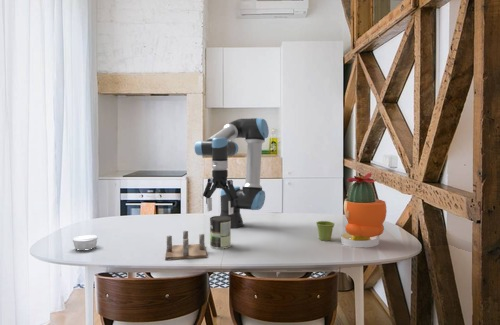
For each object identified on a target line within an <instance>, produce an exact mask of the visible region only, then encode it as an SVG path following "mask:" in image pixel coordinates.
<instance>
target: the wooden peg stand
mask: <svg viewBox="0 0 500 325" xmlns="http://www.w3.org/2000/svg"><path fill="white" fill-rule="evenodd" d="M172 237H173V236H172V235H167V236H166V250H165V256H164V257H165V258H164V259H165V261H167V260H166V259H174V260H186V259H185V258H192V259H206V258H207V252H206V251H207V250H206V247H205V246H206V245H205V243H206V242H205V234H204V233H200V234H198V238H199V242H198V243H194V244H193V243H191V244H189V231H188V230H183V231H182V244H177V245H176V244H174V245H173V238H172Z"/></svg>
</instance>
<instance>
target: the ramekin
mask: <svg viewBox="0 0 500 325" xmlns="http://www.w3.org/2000/svg"><path fill="white" fill-rule="evenodd" d="M98 239H99V238H98V235H95V234H85V235H78V236H75V237H73V238H72V242H73V247H74V249H75V250H76V249H79V250H85V249H91V248H94V247H95V248H96V247H97V243H98ZM95 248H94V249H95Z"/></svg>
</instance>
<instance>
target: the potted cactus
mask: <svg viewBox="0 0 500 325" xmlns="http://www.w3.org/2000/svg"><path fill="white" fill-rule="evenodd" d="M372 175H373V174H372V173H369V172H367V173H366V174H365V175H362V176H360V175H358V176H356V175H354V176H351V177H348V179H347V178H346V182H348V183H351V184H350V186H349V189H347V192H346V193H347V194H346V198H345V199H344V202H343V212H344V216H345V219H346V220H347V224H346V225H345V226H344V227H345V229H344V230H345V231H346V232H344V233H342V234H341V238H340V240H341V242H340V243H341V244H342V245H344V246H345V245H346V247H350V248H356V247H365V248H372V247H376V246H378V245H379V244H380V236H381V235H382V234H383V233H384V230H385V228H384V222H385V220H386V217H387V202H386V201H385V200H382V199H378V198H376V197H377V195H376V193H375V189H374V187H373V183H375V182H376V181H377V179H373V178H372V179H370V178H371V177H372ZM349 238H351V239H349Z"/></svg>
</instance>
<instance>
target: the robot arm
mask: <svg viewBox="0 0 500 325" xmlns="http://www.w3.org/2000/svg"><path fill="white" fill-rule="evenodd" d="M269 130H270V129H269V126H268V122H267V121H266V120H265V119H264V118H258V117H256V118H255V117H253V118H238V119H235V120H232V121H230V122H229V123H227V124H225V125H224V126H223V128H222V129H221V130H219V131H218V132H216V133H215V134H213V135H212V136H210V137H209V138H207V139H205V140H204V141H203V140H199V141H196V142H195V143H194V148H193V149H194V153H195V154H196V155H197V156H201V157H204V156H205V157H211V158H212V159H211V160H212V161H211V163H212V164H211V167H212V171H211V173H212V174H211V176H212V177H210V178H207V184H206V185H205V189H204V192H203V193H202V197H205V200H206V201H205V203H206V206H207V207H206V210H207V211H206V212H212V211H213V200H212V199H213V198H212V196H213V194H214V193H215V191H216V190H217V189H219V190H220V189H221V190H220V197H219V198H220V213H219V214H220V215H219V216H228V217H231V229H235V228H240V227H243V225H244V220H243V217H242V213H241V210H251V211H260V210H261V209H262V208H263V207H264V204H265V201H266V200H265V199H266V191H265V190H263V187H262V185H261V184H260V183H261V168H262V167H261V166H262V150H263V149H262V147H263V144H264V143H265V140H266V139H268V137H269V133H270V132H269ZM239 138H241V139H244V141H245V143H247V145H246V148H247V149H246V164H245V165H246V166H245V183H244V184H243V185H242V188H241V186H236V185H235V186H234V183H233V182H234V181H233V180H232V179H229V180H228V174H229V173H228V172H229V171H228V168H229V166H228V164H229V163H228V162H229V161H228V157H233V156H236V154H238V152H239V145H238V144H237V143H236V142H235V141H232V140H235V139H239Z"/></svg>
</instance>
